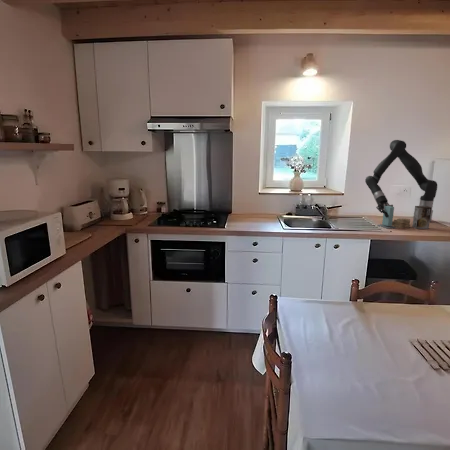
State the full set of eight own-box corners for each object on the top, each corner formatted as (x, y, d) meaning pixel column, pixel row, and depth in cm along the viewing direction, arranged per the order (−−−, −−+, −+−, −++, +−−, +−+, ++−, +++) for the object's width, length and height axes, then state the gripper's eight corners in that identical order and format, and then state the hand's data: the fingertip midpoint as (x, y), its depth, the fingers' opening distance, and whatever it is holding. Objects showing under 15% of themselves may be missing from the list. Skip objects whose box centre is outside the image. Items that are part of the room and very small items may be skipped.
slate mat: (386, 225, 249) (386, 224, 249) (396, 228, 240) (396, 227, 240) (377, 225, 247) (377, 224, 247) (387, 228, 238) (387, 227, 238)
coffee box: (424, 227, 244) (427, 205, 240) (428, 229, 237) (432, 207, 233) (411, 226, 244) (414, 205, 241) (415, 228, 238) (418, 207, 234)
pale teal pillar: (385, 223, 246) (388, 205, 243) (391, 225, 241) (394, 207, 238) (382, 224, 246) (384, 206, 242) (387, 226, 240) (390, 207, 237)
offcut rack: (396, 223, 255) (397, 215, 254) (409, 227, 243) (411, 219, 241) (385, 223, 252) (386, 216, 251) (398, 228, 240) (400, 220, 238)
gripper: (375, 195, 243) (385, 214, 235) (390, 194, 247) (401, 213, 238) (369, 201, 249) (379, 220, 241) (384, 200, 253) (394, 219, 245)
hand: (390, 216), depth 240 cm, fingers closed on pale teal pillar, 3 cm apart
